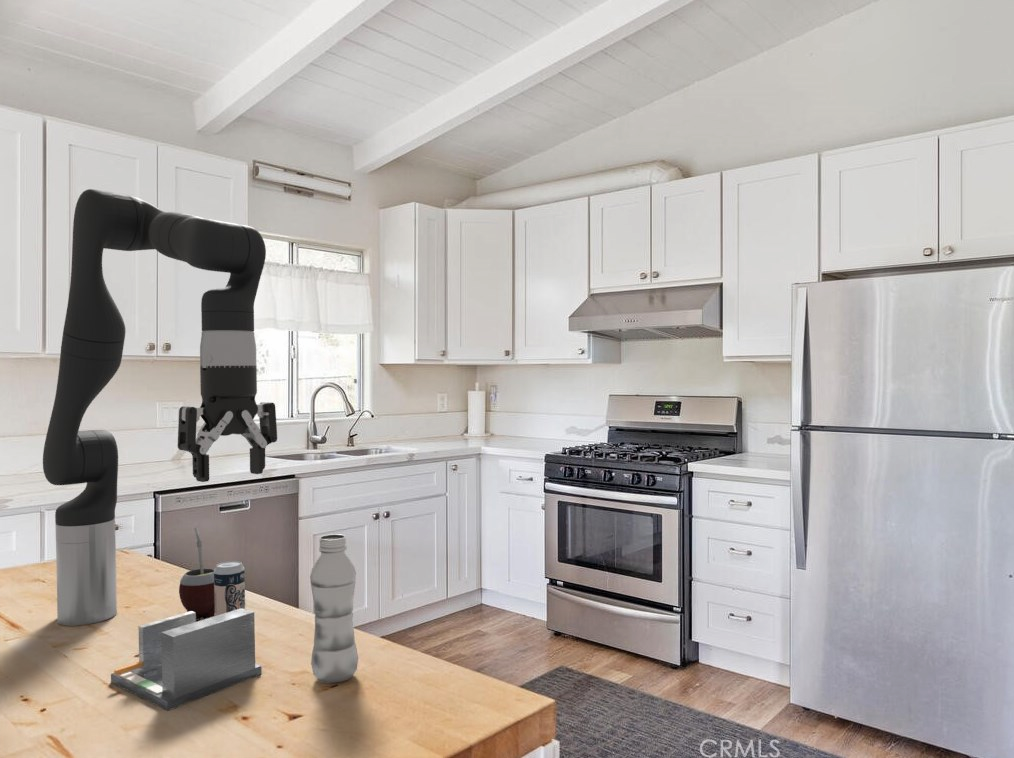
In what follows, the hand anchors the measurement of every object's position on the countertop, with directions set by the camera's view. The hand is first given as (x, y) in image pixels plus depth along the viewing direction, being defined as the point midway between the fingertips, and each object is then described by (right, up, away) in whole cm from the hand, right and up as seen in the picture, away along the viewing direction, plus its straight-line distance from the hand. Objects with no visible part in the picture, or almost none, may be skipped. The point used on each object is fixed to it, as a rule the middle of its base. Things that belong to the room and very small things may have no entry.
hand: (230, 477), depth 106 cm
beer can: (-6, -28, +16) cm, 33 cm away
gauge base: (-6, -28, -1) cm, 29 cm away
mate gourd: (-15, -28, +26) cm, 42 cm away
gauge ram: (-11, -27, +1) cm, 29 cm away
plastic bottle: (+15, -28, -1) cm, 32 cm away
